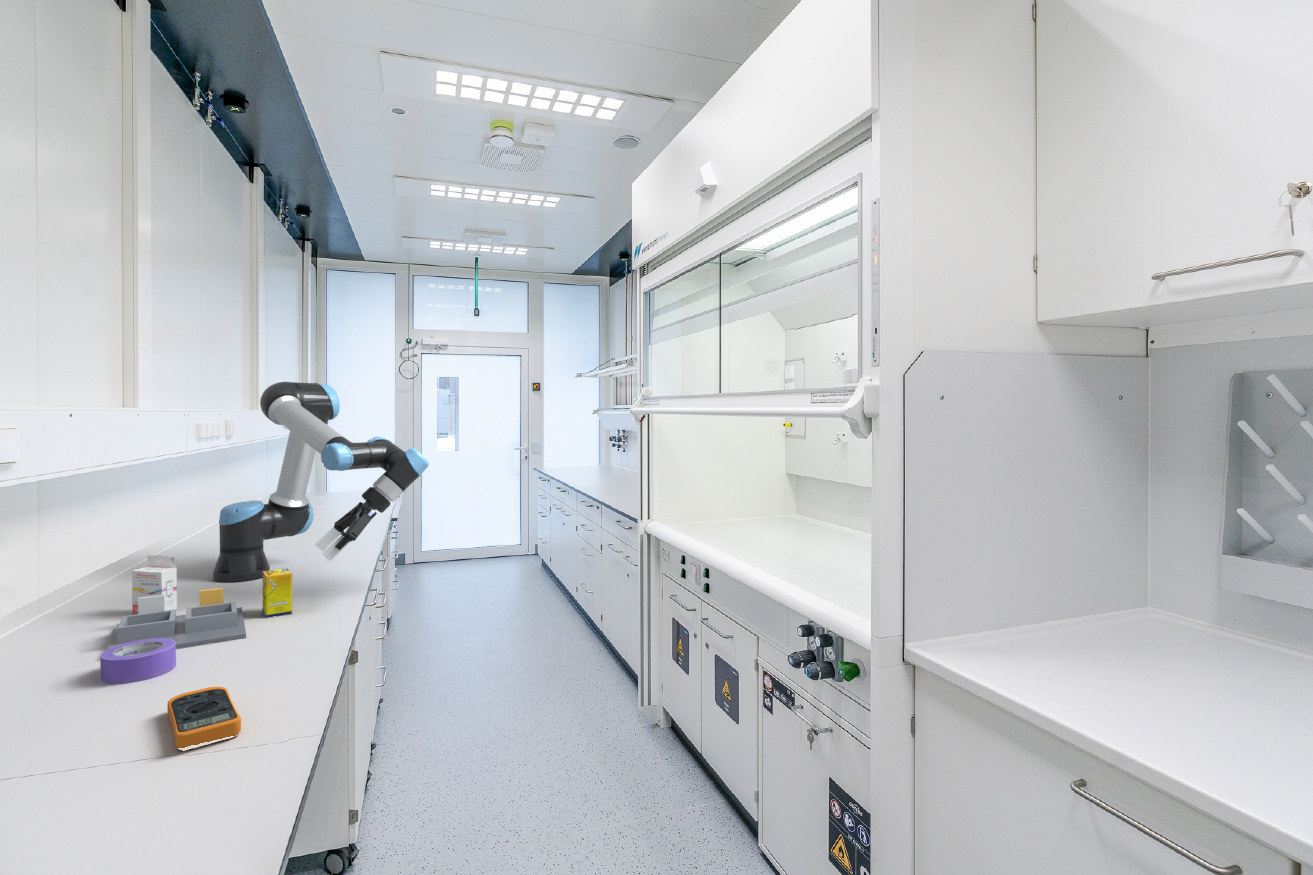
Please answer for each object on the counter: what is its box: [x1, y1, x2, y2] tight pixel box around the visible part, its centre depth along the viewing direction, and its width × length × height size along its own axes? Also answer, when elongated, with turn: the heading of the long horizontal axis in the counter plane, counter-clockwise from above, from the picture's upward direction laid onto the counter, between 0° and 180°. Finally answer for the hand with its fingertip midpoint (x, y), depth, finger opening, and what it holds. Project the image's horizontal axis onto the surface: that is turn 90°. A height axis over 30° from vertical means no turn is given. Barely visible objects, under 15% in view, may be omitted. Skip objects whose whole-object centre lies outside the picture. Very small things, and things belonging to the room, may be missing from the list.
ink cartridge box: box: [131, 554, 178, 615], centre depth 163 cm, size 9×5×15 cm, turn 84°
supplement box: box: [262, 568, 293, 619], centre depth 165 cm, size 6×6×11 cm
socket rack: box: [106, 587, 247, 650], centre depth 149 cm, size 24×25×7 cm
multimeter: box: [167, 686, 242, 749], centre depth 106 cm, size 9×18×3 cm, turn 42°
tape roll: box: [99, 638, 177, 685], centre depth 127 cm, size 12×12×5 cm
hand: (322, 552), depth 171 cm, fingers open, 13 cm apart
